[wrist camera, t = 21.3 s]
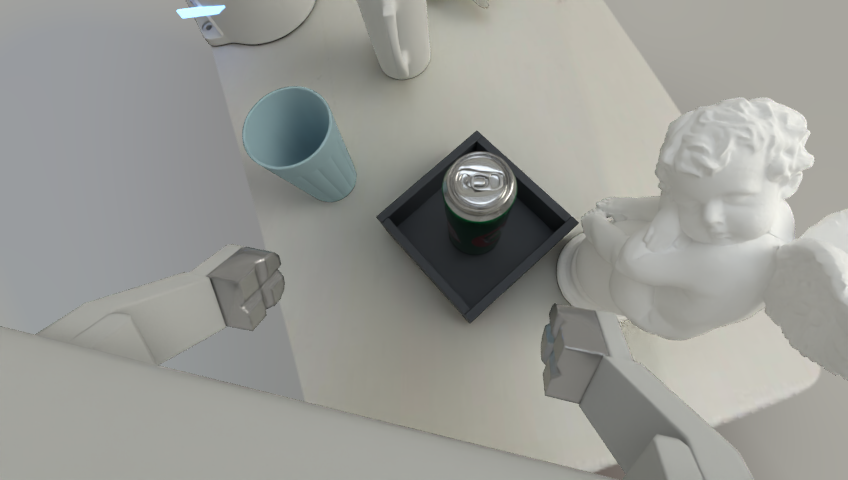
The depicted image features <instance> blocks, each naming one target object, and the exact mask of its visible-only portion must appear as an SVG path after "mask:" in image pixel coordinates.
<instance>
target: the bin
mask: <svg viewBox="0 0 848 480" xmlns="http://www.w3.org/2000/svg"><path fill="white" fill-rule="evenodd" d="M478 151H484V152H490V153H493V154H495V155H497V156H499V157H500V158H502V159H503V160H504V161H505V162H506V163H507V164H508V166H509V167H510V169H511V170H512V171H513V173H514V175H515V178H516V181H517V195H516V199H515V201H514V204H513V207H512V209H511V212H510V214H509V217H508V219H507V222H506V224H505V227H504V229H503V232H502V234H501V237H500V239H499V242H498V243H497V245H496V246H495V247H494V248H493V249H492V250H491V251H489V252H487V253H485V254H481V255H469V254H465V253H463V252H461V251H459V250H458V249H457V248H456V247H455V246H454V245H453V243H452V242H451V240H450V237H449V233H448V226H447V220H446V214H445V208H444V202H443V195H442V183H443V179H444V176H445V174H446V172H447V171H448V169H449V168H450V167H451V166H452V165H453V164H454V163H455V162H456V161H457V160H458V159H459V158H460V157H462V156H464V155H466V154H468V153H472V152H478ZM377 219H378V220H379V221H380V222H381V224H382V225H383V226H384V228H385V229H386V230H387V231H388V232H389V234H390V235H391V236H392V237H393V238H394V239H395V240H396V241H397V243H398V244H399V245H400V246H401V247H402V248H403V249H404V250H405V251H406V253H407V254H408V255H409V256H410V257H411V258H412V259H413V260H414V262H415V263H416V264H417V265H418V266H419V267H420V268H421V269H422V271H423V272H424V273H425V274H426V275H427V276H428V277H429V278H430V280H431V281H432V282H433V283H434V284H435V285H436V286H437V287H438V289H439V290H440V291H441V292H442V293H443V294H444V295H445V296H446V298H447V299H448V300H449V301H450V302H451V303H452V304H453V305H454V307H455V308H456V309H457V310H458V311H459V312H460V313H461V314H462V316H463V317H464V318H465V319H466V320H467V321H468V322H469V323H471V322H472V321H473V320H474V319H475V318H476V317H477V316H479V315H480V314H481V313H482V312H483V311H484V310H485V309H486V308H487V307H488V306H489V305H491V304H492V303H493V302H494V301H495V300H496V299H497V298H498V297H499V296H500V295H501V294H502V293H504V292H505V291H506V290H507V289H508V288H509V287H510V286H511V285H512V284H513V283H514V282H515V281H517V280H518V279H519V278H520V277H521V276H522V275H523V274H524V273H525V272H526V271H527V270H529V269H530V268H531V267H532V266H533V265H534V264H535V263H536V262H537V261H538V260H539V259H540V258H542V257H543V256H544V255H545V254H546V253H547V252H548V251H549V250H550V249H551V248H552V247H554V246H555V245H556V244H557V243H558V242H559V241H560V240H561V239H562V238H563V237H564V236H565V235H567V234H568V233H569V232H570V231H571V230H572V229H573V228H574V227H575V226H576V225H577V224H578V223H579V222H578V221H576V220H575V219H574V218H573V217H571V215H570V214H569V213H567V212H566V211H565V210H564V209H563V208H562V207H561V206H560V205H559V204H557V203H556V202H555V201H554V200H553V199H552V198H551V197H550V196H549V195H548V194H546V193H545V192H544V191H543V190H542V189H541V188H540V187H539V186H538V185H536V184H535V183H534V182H533V181H532V180H531V179H530V178H529V177H528V176H527V175H525V174H524V173H523V172H522V171H521V170H520V169H519V168H518V167H517V166H515V165H514V164H513V163H512V162H511V161H510V160H509V159H508V158H507V157H506V156H504V155H503V154H502V153H501V152H500V151H499V150H498V149H497V148H496V147H494V146H493V145H492V144H491V143H490V142H489V141H488V140H487V139H486V138H485V137H483V136H482V135H481V134H480V133H479V132H478V131H476V132H475V133H473V134H472V135H471V136H470V137H469V138H468V139H466V140H465V141H464V142H463V143H462V144H461V145H459V146H458V147H457V148H456V149H455V150H454V151H452V152H451V153H450V154H449V155H448V156H447V157H445V158H444V159H443V160H442V161H441V162H440V163H438V164H437V165H436V166H435V167H434V168H433V169H431V170H430V171H429V172H428V173H427V174H426V175H424V176H423V177H422V178H421V179H420V180H419V181H417V182H416V183H415V184H414V185H413V186H412V187H410V188H409V189H408V190H407V191H406V192H405V193H403V194H402V195H401V196H400V197H399V198H398V199H396V200H395V201H394V202H393V203H392V204H391V205H390V206H388V207H387V208H386V209H385V210H384V211H383V212H381V213H380V214H379V215H378V216H377Z"/></svg>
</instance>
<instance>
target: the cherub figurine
mask: <svg viewBox="0 0 848 480" xmlns="http://www.w3.org/2000/svg"><path fill="white" fill-rule="evenodd" d="M806 128H807V121H806V119H805V118H804V117H803V115H802V114H801V113H798V112H797V111H796V110H794V109H792V108H788V107H787V106H785V105H783V104H777V103H776V102H774V101H773V100H772V99H769V98H754V99H750V100H748V101H747V100H746V99H745V98H743V97H740V98H734V99H725V100H722V101H720V102H718V103H716V104H713V105H710V106H706V107H698V108H696V109H695V110H693V111H689V112H687V113H685V114H684V115H682V116H680V117H679V118H678V119H676V120H674V121H672V122H671V123H670V125H669V127H668V131H667V133H666V137H665V140H664V141H665V142H664V143H663V145H662V147H661V149H660V155H659V159H658V163H657V165H656V170H655V175H656V176H657V177H658V178H659V180H660V183H659V185H658V187H659V188H660V189H661V190H662V191H661V196H651V197H640V198H632V197H609V198H605V199H603V200H601V201H599V202H597V203H596V206H597V207H596V208H594V209H592V210H591V211H588V213H586V214H585V215H584V216H583V217H582V219H581V222H582V227H583V231H584V232H583V233H581V234H579V235H577V236H575V237H573V238H572V239H571V240H570V241H569V242H568V243H567V244H566V245H565V246H564V248H563V249H562V251H561V253H560V255H559V258H558V262H557V282H558V285H559V287H560V290H561V293H562V295H563V297H565V299H566V300H568V302H569V303H570V304H571V305H572V306H573V307H578V308H584V309H590V310H599V311H606V312H612V313H614V314H615V315H616V316H617V318H618V321H619V322H621V321H625V320H628V319H629V320H630V321H631V322H632V323H633V324H634V325H636V326H637V327H639V328H640V329H642V330H644V331H646V332H648V333H651V334H656V335H658V336H660V337H662V338H665V339H669V340H687V339H691V338H694V337H697V336H700V335H703V334H705V333H707V332H710V331H712V330H714V329H717V328H720V327H723V326H726V325H730V324H733V323H737V322H740V321H744V320H746V319H748V318H750V317H752V316H753V315H755V314H756V313H757V312H759V311H760V310H762V309H764V308H765V307H766V308H765V313H766V314H767V315H768V316H769V317H770V318H771V319H772V321H773V322H774V323H775V324H776V325H778V326H780V327H781V329H782V333H784V336H785V338H786V339H788V340H789V344H790V345H791V346H792V347H793V348H794V349H796V350H799V352H800V354H801V355H802V356H804V357H808V358H809V359H810V360H811V361H812V362H816V363H817V364H818V365H820V366H823V367H824V369H825V370H827V371H829V372H830V373H832V374H834V375H835V376H836V375H840V376H842V377H843V378H844V379H846V380H848V208H846V209H844V210H842V211H839V212H835V213H832V214H829V215H827V216H825V217H824V218H823V219H822V220H821V221H820V222H819V223H817V224H815V225H813V226H811V227H809V228H808V229H807V230H806V232H805V233H804V234H803V235H802V236H801V237H799V238H797V239H795V222H794V217H793V213H792V211H791V208H790V206H789V205H788V203H787V202H786V201H785V200H784V199H787V198H789V197H790V196H792V194H793V193H795V192H796V191H797V190H798V185H799V184H800V182H801V179H802V177H803V175H802V170H804V169H807V168H810V167H811V166H812V165H813V163H814V156H813V155H810V154H808V152H807V151H806V149H805V148H804V145H805V143H806V140H807V138H808V137H809V135H810V131H808V130H807V129H806ZM608 217H612V218H613V219H614V220H611V221H608V220H607V219H606V218H608Z"/></svg>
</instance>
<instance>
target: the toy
mask: <svg viewBox="0 0 848 480" xmlns="http://www.w3.org/2000/svg"><path fill="white" fill-rule="evenodd" d="M473 1H474V2H475V3H476V4H478V5H479V6H480V7H482V8H486V9H487V8H488V6H489V4H488V0H473Z"/></svg>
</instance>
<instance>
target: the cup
mask: <svg viewBox="0 0 848 480" xmlns="http://www.w3.org/2000/svg"><path fill="white" fill-rule="evenodd" d="M242 139H243V145H244V147H245V150H246V152H247V154H248V155H249V156H250V158H251V159H252V160H253V161H255V162H256V163H257V164H259V165H261V166H262V167H264V168H266V169H267V170H269V171H271V172H272V173H274V174H276V175H278V176H279V177H281V178H283V179H284V180H286V181H288V182H290V183H291V184H293V185H295V186H296V187H298V188H300V189H301V190H303V191H305V192H307V193H308V194H310V195H312V196H313V197H315V198H317V199H319V200H321V201H325V202H334V201H339V200H341V199H343V198H344V197H346V196H347V195H348V194H349V193H350V192H351V191H352V189H353V187H354V186H355V183H356V171H355V168H354V165H353V163H352V160H351V158H350V156H349V153H348V151H347V148H346V146H345V144H344V141H343V139H342V137H341V134H340V132H339V130H338V127H337V125H336V122H335V120H334V117H333V115H332V112H331V110H330V108H329V106H328V104H327V102H326V101H325V99H324V98H323V97H322V96H321V95H320V94H318V93H317V92H315V91H313V90H311V89H308V88H305V87H299V86H291V87H284V88H280V89H277V90H275V91H273V92H271V93H269V94H267V95H265V96H264V97H263V98H261V99H260V100H259V101H258V102H257V103H256V104H255V105H254V106H253V107H252V109H251V110H250V112H249V113H248V115H247V117H246V119H245V122H244V126H243V131H242Z"/></svg>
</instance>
